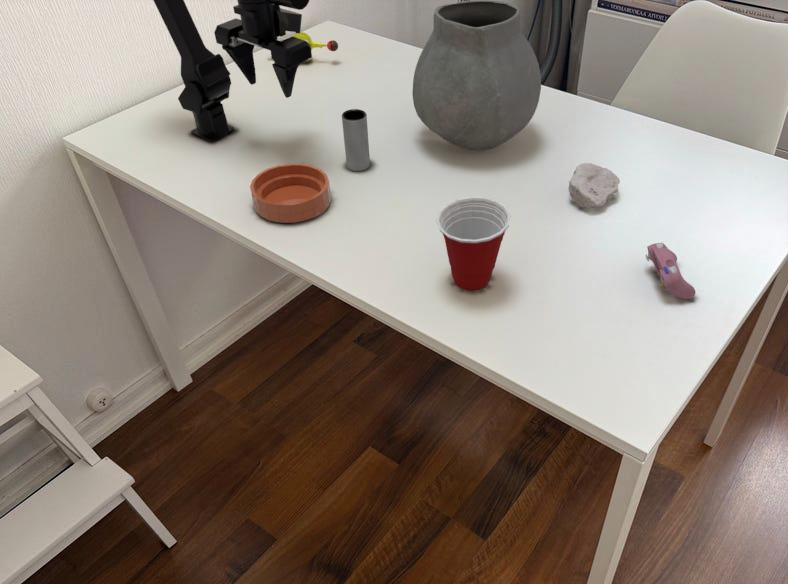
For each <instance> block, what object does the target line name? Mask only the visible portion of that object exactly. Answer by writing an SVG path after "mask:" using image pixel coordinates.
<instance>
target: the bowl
mask: <svg viewBox="0 0 788 584" xmlns="http://www.w3.org/2000/svg"><path fill="white" fill-rule="evenodd" d="M249 188H250V193H251V198H252V202H253V206H254V210H255V212H256V213H257V214H258V215H259V216H260V217H262V218H264V219H265V220H267V221H270V222H275V223H282V224H283V223H285V224H288V223H289V224H291V223H292V224H293V223H299V222H304V221H308V220H311V219H313V218H316V217H318V216H319V215H321V214H323V213H324V212H325V211H326V210H327V209H328V208H329V206H330V204H331V199H332V195H331V194H332V193H331V186H330V179H329V178H328V175H327V173H326V172H325V171H323V170H322V169H321V168H318V167H316V166H314V165H311V164H306V163H284V164H278V165H275V166H271V167H269V168H266V169H265V170H262V171H260V172H259V173H258V174H256V176H255V177H254V178H253V179H252V180H251V183H250V185H249Z"/></svg>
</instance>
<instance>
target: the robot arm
mask: <svg viewBox="0 0 788 584" xmlns="http://www.w3.org/2000/svg"><path fill="white" fill-rule="evenodd" d="M236 1H237V5H234V6H232V9H233V12H234V13H233V14H236V15H239V17H240V18H237V17H236V18H232V19H230V20H228V21H225V22H223V23H222V22H221V23H220V24H217V25H216V27H215V29H214V37H215V42H216V44H218V45H221V48H222V50H224V51H225V52H226V53H227V54H228V55H229V57H230V58H231V60H232V61H233V62H234V63H235V64H236V66H237V68H238V69H239V70H240V72H241V73H242V74H243V76H244V78H245V79H246V80H247V81H248V83H249V84H250V85H251V86H253V85H255V84H256V83H257V75H256V73H257V72H256V67H255V66H256V65H255V59H254V49H255V47H258V48H262V49H264V50H267V51H270V55H271V59H272V60H273V62H274V63H272V64H271V65H272V68H273V71H274V73H275V75H276V79H277V81H278V83H279V86H280V87H281V88H280V89H281V91H282V93H283V95H284V97H285V98H286V99H287V98H290V97H292V93H293V88H294V84H295V78H296V75H297V71H298V68H299V66H300V65H301V64H303V63H305V61H306V60H307V59H308V60H309V59H311V58H313V53H312V50H311V45H310V44H309V43H308V42H307V41H305V40H302V39H299V38H296V37H293V35H292V36H290V37H287V38H285V39H281V40H278V37H280V38H281V37H285V36H286V35H287V32H291V33H292V32H293V33H295V34H296V33H299V34H300V32H301V29H302V19H303V18H302V17H303V14H302V13H299V12H296V11H293V10H297V11H298V10H299V11H301V10H304V9H305V8H306V7H307V6H308V4H309V3H310V0H236ZM153 3H154V5H155V6H156V8H157V11H158V13H159V15H160V17H161V19H162V21H163V23H164V25H165V27H166V29H167V31H168V33H169V35H170V38H171V39H172V41H173V44H174V45H175V48H176V49H177V52H178V54H179V56H180V77H181V79H182V82H183V85H184V88H183V89H182V91H181V93H180V94H179V96H178V97H177V100H178V102H179V104H180V106H181V108H182V109H183V110H185V111H188V112H191V113H192V115H193V120H194V123H195V126H196V127H195V128H194V129H191V130H190V132H191V134H192V135H194V136H196V137H199V138H201V139H203V140H205V141H208V142H211V143H212V142H215V141H218V140H219V139H221V138H223V137H225V136H227V135H229V134H231V133H233V132H235V127H234V126H231V125H229V124H228V120H227V114H226V113H225V108H224V105H223V103H222V102H223V101H224V100H228V99H229V98H230V89H231V85H232V80H231V77H230V75H231V72H230V71H229V70H228V68H227V66H226V64H225V61H224V58H223V56H222V55H221V54H220V53H217V54H214V53H213V52H212V51H210V50H209V49H208V48H207V47H206V45H205V44H204V40H203V39H202V36H201V35H200V32H199V30H198V28H197V26H196V24H195V21H194V19H193V17H192V15H191V13H190V10H189V9H188V7H187V4H186V2H185V0H153ZM281 7H285V8H289V9H293V10H289V9H284V8H281Z"/></svg>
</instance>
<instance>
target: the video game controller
mask: <svg viewBox="0 0 788 584" xmlns="http://www.w3.org/2000/svg"><path fill="white" fill-rule="evenodd" d="M646 249H647V253H645V260H646V261H648V262H650V261H651V262H652V263H653V266H654V268H655V269H654V270H655V271H656V274H657V276H658V278H659V279H660V281H661V282H659V283H660V286H661V287H662V288H664V290H665V291H666V292H667V291H668V292H670V293H671V294H673V295H674V296H675V297H677V298H679V299H682V300H691V299H693V298H694V297H695V296H696V289H695V287H694V286H693V285H692V284H690V283H689V282H688V281H686V280H685V279H684V277H683V275H682V274H681V273H682V272H681V270H680V268H679V266H678V264H677V261H678V256H677V255H676V253H674V252H673V251H672V250H670V249H669V248H668V246H667V245H666V244H664V243H663V242H662V241H661V242H656V243H652V244H650V245H647V247H646Z"/></svg>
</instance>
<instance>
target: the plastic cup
mask: <svg viewBox="0 0 788 584" xmlns="http://www.w3.org/2000/svg"><path fill="white" fill-rule="evenodd" d="M511 217H512V215H511V213H510V212H509V209H508V207H507V206H505V205H504V204H503V203H501V202H500V201H499V200H496V199H492V198H489V197H485V196H467V197H463V198H457V199H455V200H452V201H451V202H448V203H446V204H445V205H444V206H443V207H442V208H441V209H440V210H439V211H438V213H437V217H436V221H435V222H436V225H437V227H438V230H439V232H440V233H442V235H443V238H444V242H445V243H444V244H445V248H446V252H447V258H448V263H449V266H450V272H451V277H452V281H453V282H454V285H455V286H456V287H458V288H459V289H461V290H462V291H467V292H477V291H481V290H483V289H485V288H487V286H488V285H489V283H490V282H491V280H492V279H491V277H492V274H493V272H494V269H495V268H496V267H495V266H496V263H497V259H498V255H499V252H500V248H501V245H502V242H503V239H504V236H505V233H506V231H507V229H508V228H509V226H510V221H511Z"/></svg>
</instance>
